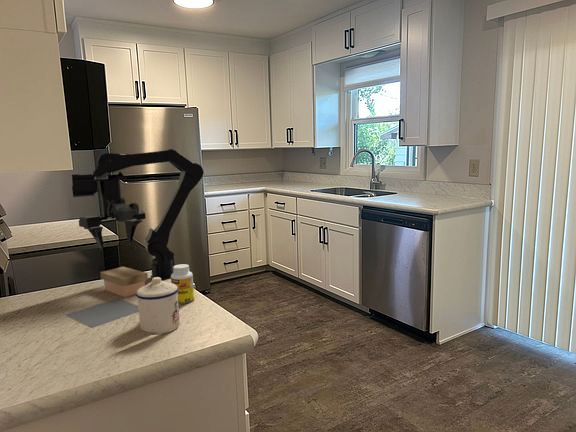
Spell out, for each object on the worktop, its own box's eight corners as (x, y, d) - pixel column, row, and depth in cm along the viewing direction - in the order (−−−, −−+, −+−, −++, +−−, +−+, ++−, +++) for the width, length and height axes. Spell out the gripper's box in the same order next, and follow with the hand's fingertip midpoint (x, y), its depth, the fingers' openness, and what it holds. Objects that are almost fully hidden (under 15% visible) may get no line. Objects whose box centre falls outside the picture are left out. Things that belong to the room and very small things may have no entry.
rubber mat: (118, 301, 115) (117, 298, 115) (147, 311, 106) (146, 308, 106) (65, 317, 104) (64, 314, 104) (92, 331, 95) (92, 327, 95)
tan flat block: (123, 272, 128) (123, 266, 128) (147, 279, 120) (147, 273, 119) (100, 278, 122) (100, 272, 122) (124, 286, 114) (123, 279, 114)
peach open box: (125, 286, 128) (124, 273, 127) (145, 293, 121) (144, 279, 120) (105, 292, 123) (103, 279, 122) (125, 299, 116) (123, 285, 115)
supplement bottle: (169, 307, 108) (166, 269, 107) (177, 300, 114) (174, 263, 112) (190, 307, 108) (187, 268, 106) (197, 299, 113) (194, 263, 112)
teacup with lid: (183, 331, 93) (179, 280, 92) (140, 339, 90) (135, 286, 88) (177, 312, 104) (173, 267, 103) (138, 319, 101) (134, 272, 100)
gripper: (94, 199, 115) (100, 255, 117) (153, 193, 129) (158, 242, 131) (75, 198, 121) (81, 250, 124) (133, 192, 136) (137, 239, 138)
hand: (116, 245), depth 129 cm, fingers open, 9 cm apart
